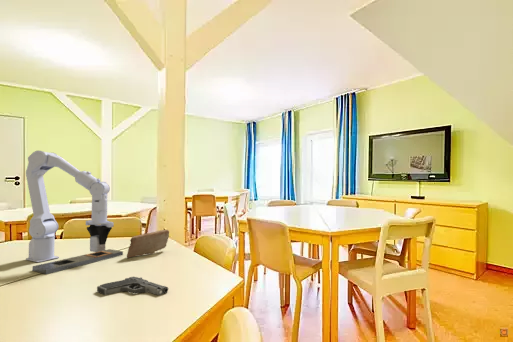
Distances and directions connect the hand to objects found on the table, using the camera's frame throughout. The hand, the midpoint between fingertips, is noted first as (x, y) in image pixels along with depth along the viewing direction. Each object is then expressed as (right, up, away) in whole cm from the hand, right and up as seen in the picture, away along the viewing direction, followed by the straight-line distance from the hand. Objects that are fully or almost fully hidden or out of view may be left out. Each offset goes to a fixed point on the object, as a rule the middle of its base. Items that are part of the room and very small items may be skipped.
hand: (99, 243), depth 122 cm
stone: (+19, -6, +5) cm, 20 cm away
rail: (-3, -6, -6) cm, 9 cm away
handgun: (+30, -5, -38) cm, 48 cm away
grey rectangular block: (0, -3, -1) cm, 3 cm away
